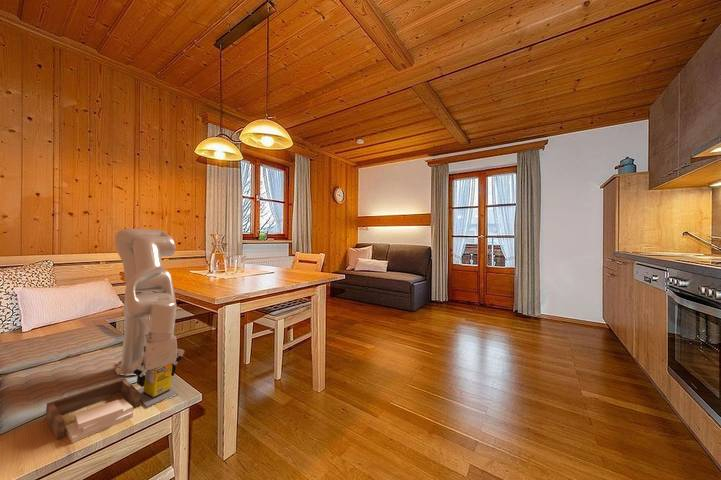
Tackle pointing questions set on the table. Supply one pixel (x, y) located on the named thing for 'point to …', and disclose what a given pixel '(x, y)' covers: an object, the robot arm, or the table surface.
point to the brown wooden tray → (88, 402)
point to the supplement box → (158, 381)
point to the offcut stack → (98, 419)
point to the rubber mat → (150, 401)
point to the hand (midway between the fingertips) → (156, 379)
